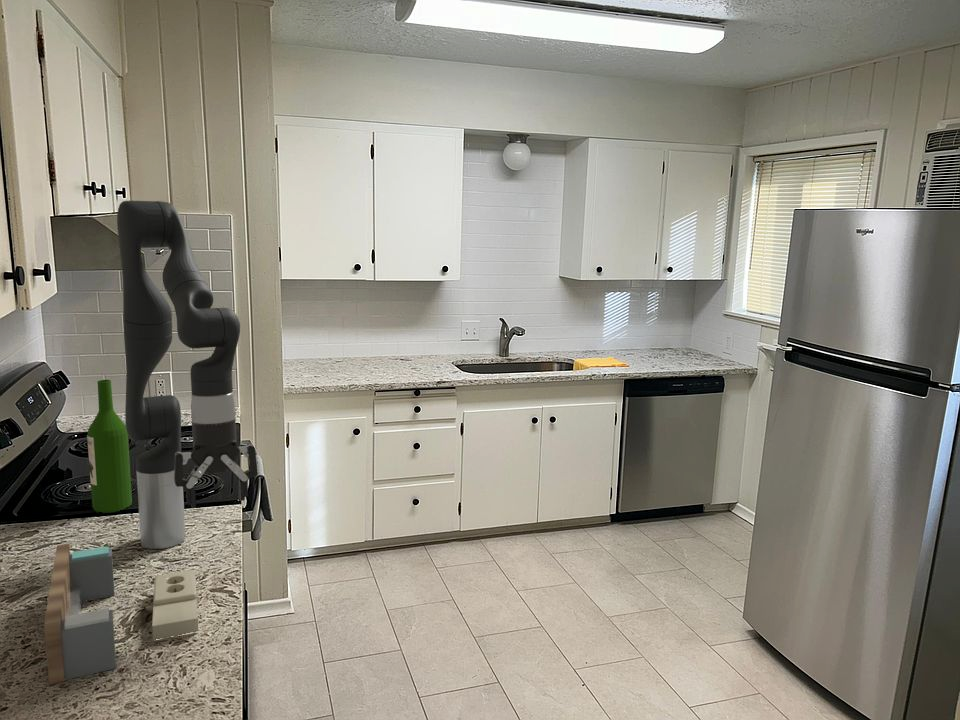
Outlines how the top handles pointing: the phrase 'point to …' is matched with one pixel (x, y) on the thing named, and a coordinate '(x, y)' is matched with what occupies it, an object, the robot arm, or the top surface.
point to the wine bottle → (108, 456)
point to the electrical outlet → (174, 604)
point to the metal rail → (74, 600)
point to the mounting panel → (57, 613)
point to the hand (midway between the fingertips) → (218, 503)
